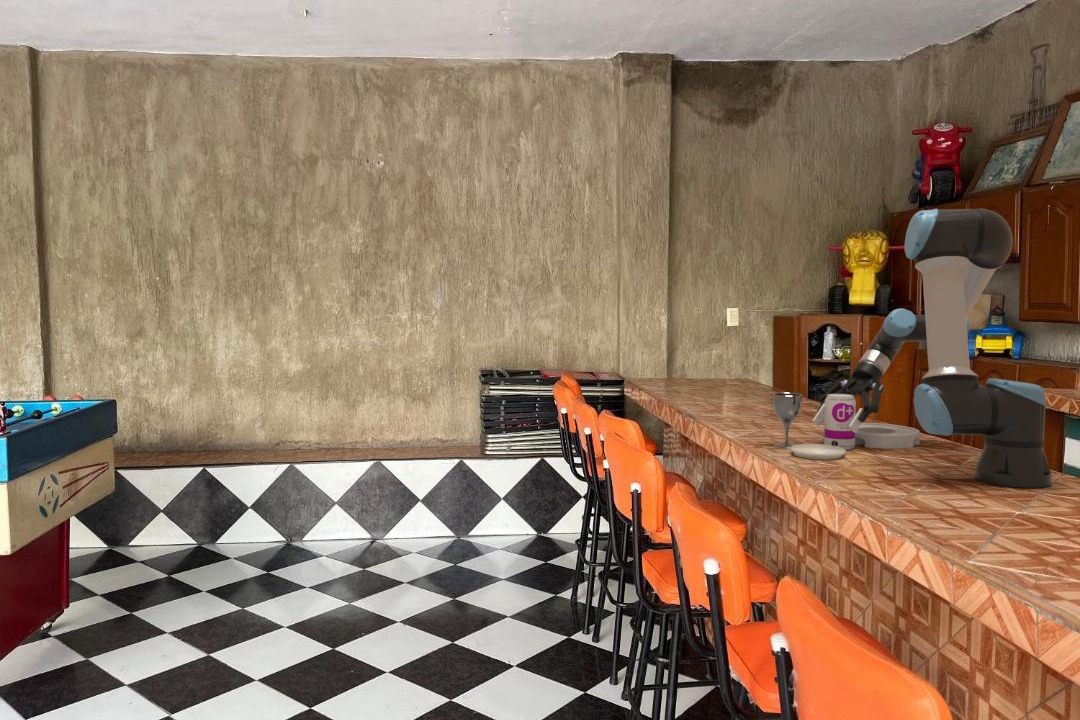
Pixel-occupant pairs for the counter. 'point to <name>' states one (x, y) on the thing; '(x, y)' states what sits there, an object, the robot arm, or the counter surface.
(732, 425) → the counter surface
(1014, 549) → the counter surface
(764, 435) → the counter surface
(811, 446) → the dish
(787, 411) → the wine glass
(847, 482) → the counter surface
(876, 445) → the ashtray
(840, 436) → the supplement can
